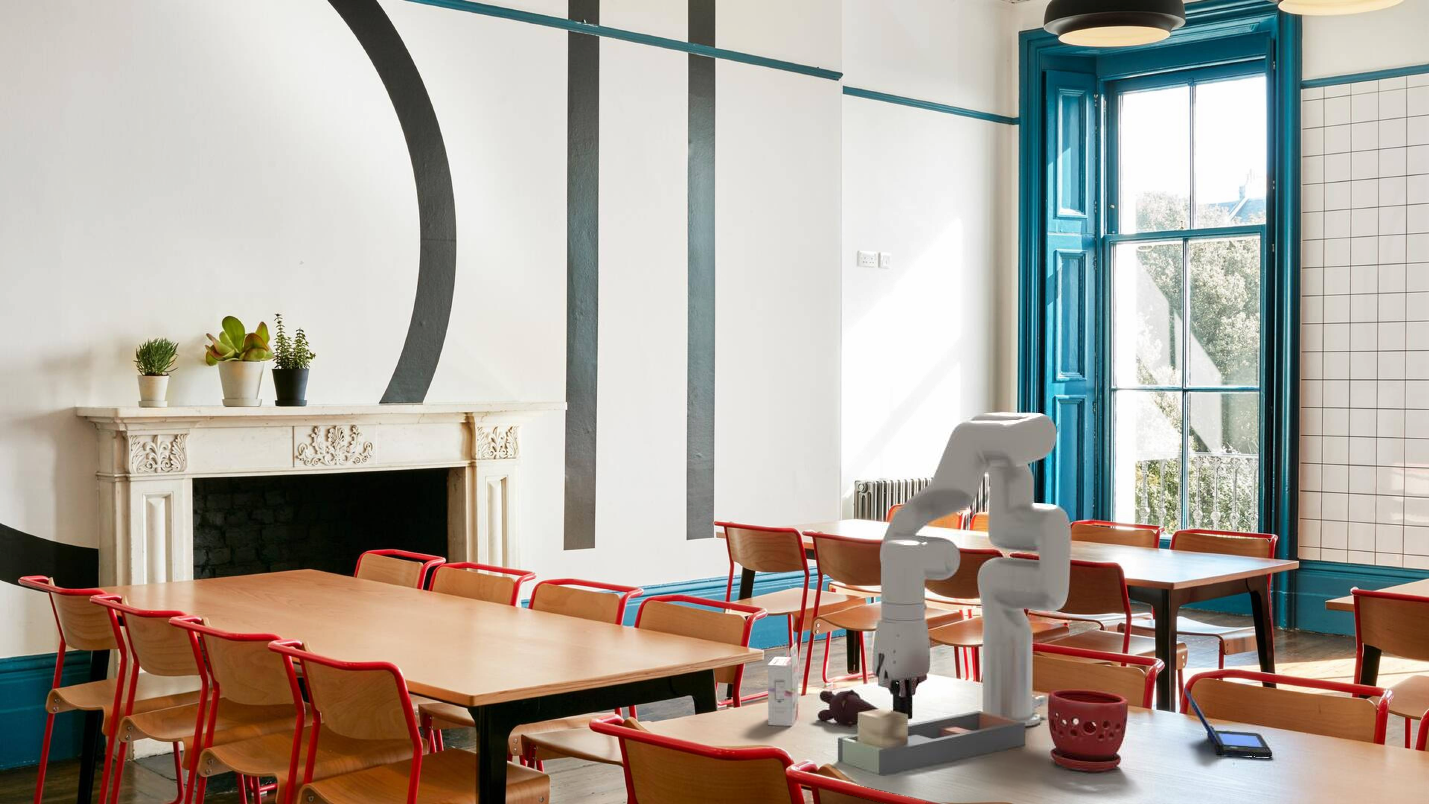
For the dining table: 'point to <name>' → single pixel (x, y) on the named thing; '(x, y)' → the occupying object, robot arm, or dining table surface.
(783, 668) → the ink cartridge box
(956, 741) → the compartment tray
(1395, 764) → the dining table surface
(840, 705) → the gnome figurine
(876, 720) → the maple block
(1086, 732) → the plant pot
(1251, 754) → the handheld game console
